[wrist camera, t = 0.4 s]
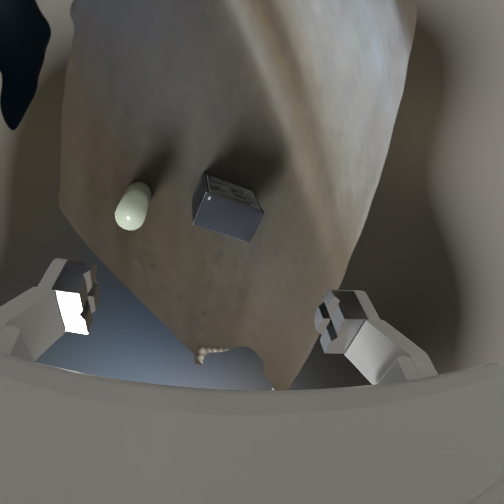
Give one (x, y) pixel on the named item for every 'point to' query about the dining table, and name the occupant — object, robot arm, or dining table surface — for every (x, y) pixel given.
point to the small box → (226, 208)
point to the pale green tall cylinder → (133, 206)
